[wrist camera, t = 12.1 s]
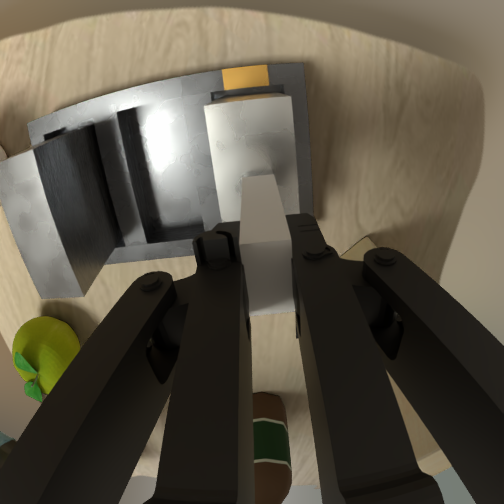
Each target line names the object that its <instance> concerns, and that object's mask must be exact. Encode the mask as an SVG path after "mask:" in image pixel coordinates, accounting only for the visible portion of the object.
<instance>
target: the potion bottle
mask: <svg viewBox="0 0 504 504" xmlns="http://www.w3.org/2000/svg"><path fill="white" fill-rule="evenodd" d="M6 158H7V156H6V153H5V151H4V150H3V148H2V147H1V145H0V161H2V160H4V159H6ZM0 206H2V203H1V200H0Z"/></svg>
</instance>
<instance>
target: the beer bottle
mask: <svg viewBox="0 0 504 504" xmlns="http://www.w3.org/2000/svg"><path fill="white" fill-rule="evenodd" d="M252 395H253V439H254V481H255V504H281V503H282V502H283V501H284V499H285V498H286V496H287V495H288V493H289V490H290V487H291V484H292V469H291V458H290V447H289V437H288V427H287V417H286V411H285V407H284V405H283V403H282V400H281V398H280V397H279V396H275V395H272V394H268V393H264V392H259V393H254V394H252Z"/></svg>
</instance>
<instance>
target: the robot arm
mask: <svg viewBox="0 0 504 504" xmlns="http://www.w3.org/2000/svg"><path fill="white" fill-rule="evenodd" d="M192 245H193V249H194V254H195V258H196V262H197V270H196V273H195V274H193V275H192V276H189V277H187V278H184V279H180V280H177V281H173V279H172V276H171V275H170V274H169V273H167V272H162V271H157V272H150V273H146V274H144V275H143V276H141V277H139V278H137V279H136V280H135V281H134V282H133V283H132V284H131V286H130V287H129V288H128V289H127V290H126V292H125V293H124V294H123V295H122V297H121V298H120V299H119V300H118V302H117V303H116V304H115V305H114V307H113V308H112V309H111V310H110V312H109V313H108V314H107V316H106V317H105V318H104V319H103V321H102V322H101V323H100V324H99V326H98V327H97V328H96V330H95V331H94V332H93V334H92V335H91V336H90V338H89V339H88V340H87V342H86V343H85V344H84V345H83V347H82V348H81V350H80V351H79V352H78V354H77V355H76V356H75V358H74V359H73V360H72V362H71V363H70V364H69V366H68V367H67V369H66V370H65V371H64V373H63V374H62V376H61V377H60V378H59V380H58V381H57V383H56V384H55V385H54V387H53V388H52V390H51V391H50V393H49V394H48V396H47V397H46V398H45V400H44V401H43V403H42V404H41V406H40V407H39V409H38V410H37V412H36V413H35V415H34V416H33V418H32V419H31V421H30V422H29V424H28V426H27V427H26V429H25V430H24V432H23V433H22V435H21V437H20V438H19V440H18V441H16V440H15V439H14V438H11V437H9V436H7V435H6V434H4V433H2V432H1V431H0V504H118V503H119V501H120V499H121V497H122V495H123V492H124V490H125V488H126V486H127V484H128V482H129V480H130V477H131V476H132V473H133V471H134V469H135V467H136V465H137V463H138V461H139V458H140V456H141V454H142V452H143V450H144V448H145V446H146V443H147V441H148V439H149V437H150V435H151V433H152V431H153V429H154V426H155V424H156V422H157V420H158V418H159V416H160V414H161V412H162V410H163V408H164V405H165V403H166V401H167V399H168V397H169V395H170V393H171V395H170V401H169V406H168V412H167V418H166V424H165V430H164V436H163V442H162V448H161V455H160V461H159V468H158V475H157V482H156V488H155V492H154V494H153V496H152V498H150V499H149V500H147V501H146V502H144V503H143V504H255V481H254V439H253V395H252V350H251V323H250V317H249V313H250V316H256V315H267V314H277V313H286V312H295V314H296V339H297V338H299V344H300V350H301V356H302V362H303V369H304V375H305V381H306V388H307V394H308V401H309V408H310V414H311V421H312V428H313V435H314V442H315V449H316V457H317V464H318V472H319V479H320V487H321V495H322V503H323V504H444V500H443V497H442V493H441V491H440V488H439V486H438V483H437V482H436V481H435V479H434V478H433V477H432V476H431V475H429V474H426V473H424V472H422V471H421V469H420V468H419V466H418V463H417V461H416V457H415V454H414V451H413V447H412V444H411V441H410V438H409V435H408V432H407V429H406V426H405V422H404V419H403V416H402V414H401V411H400V408H399V405H398V402H397V399H396V396H395V393H394V391H393V388H392V385H391V382H390V379H389V377H388V374H387V372H388V373H389V375H390V376H391V377H392V379H393V380H394V382H395V383H396V385H397V386H398V387H399V389H400V390H401V392H402V393H403V394H404V396H405V397H406V399H407V400H408V402H409V403H410V404H411V406H412V407H413V409H414V410H415V412H416V413H417V415H418V416H419V417H420V419H421V420H422V422H423V423H424V425H425V426H426V428H427V429H428V431H429V432H430V434H431V435H432V436H433V438H434V439H435V441H436V442H437V444H438V445H439V447H440V448H441V450H442V451H443V453H444V454H445V456H446V457H447V459H448V460H449V462H450V464H451V465H452V467H453V468H454V470H455V471H456V472H457V474H458V476H459V477H460V479H461V480H462V482H463V483H464V485H465V486H466V488H467V490H468V491H469V493H470V494H471V496H472V498H473V499H474V501H475V503H476V504H504V346H503V345H502V344H501V343H500V342H499V341H498V340H497V339H496V338H495V337H494V336H493V335H492V334H491V333H490V332H489V331H488V330H487V329H486V328H485V327H484V326H483V325H482V324H481V323H480V322H479V321H478V320H477V319H476V318H475V317H474V316H473V315H472V314H470V313H469V312H468V311H467V310H466V309H465V308H464V307H463V306H462V305H461V304H460V303H459V302H458V301H456V300H455V299H454V298H453V297H452V296H451V295H450V294H449V293H448V292H446V291H445V290H444V289H443V288H442V287H441V286H440V285H439V284H437V283H436V282H435V281H434V280H433V279H432V278H431V277H429V276H428V275H427V274H426V273H425V272H424V271H422V270H421V269H420V268H419V267H418V266H416V265H415V264H414V263H413V262H412V261H410V260H409V259H408V258H407V257H406V256H404V255H403V254H402V253H400V252H398V251H397V250H394V249H390V248H387V247H385V248H384V247H379V248H373V249H371V250H368V251H367V252H366V253H365V254H364V258H363V261H356V260H347V259H343V258H339V256H338V254H337V251H336V250H335V249H334V248H333V247H331V246H329V245H327V244H326V242H325V240H324V237H323V235H322V233H321V231H320V228H319V226H318V224H317V222H316V219H315V218H314V217H313V216H311V215H310V214H308V213H300V214H289V215H285V213H284V209H283V205H282V202H281V198H280V194H279V191H278V187H277V183H276V180H275V176H274V174H270V175H260V176H251V177H242V194H241V216H240V221H231V222H222V223H218V224H217V225H216V226H215V227H214V228H213V229H212V230H209V231H206V232H203V233H201V234H199V235H198V236H196V237H195V238H194V239H193V241H192ZM386 370H387V371H386Z"/></svg>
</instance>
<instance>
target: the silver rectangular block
mask: <svg viewBox="0 0 504 504" xmlns="http://www.w3.org/2000/svg"><path fill="white" fill-rule="evenodd" d="M204 111H205V117H206V124H207V131H208V138H209V144H210V151H211V157H212V164H213V170H214V176H215V183H216V189H217V195H218V201H219V207H220V214H221V220H222V222H231V221H240V216H241V194H242V177H251V176H260V175H270V174H274V176H275V180H276V183H277V187H278V191H279V194H280V198H281V202H282V205H283V209H284V213H285V215H289V214H300V210H299V192H298V176H297V161H296V147H295V135H294V123H293V111H292V100H291V96H289V95H285V94H282V93H278V92H274V91H271V92H260V93H250V94H241V95H233V96H225V97H220V98H218V99H216V100H214V101H212V102H210V103H208V104H206V105H205V106H204Z"/></svg>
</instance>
